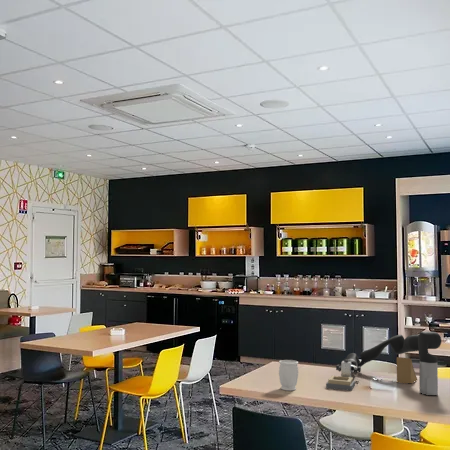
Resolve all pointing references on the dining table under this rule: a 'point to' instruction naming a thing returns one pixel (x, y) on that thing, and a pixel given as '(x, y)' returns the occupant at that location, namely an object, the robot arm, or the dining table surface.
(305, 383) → the dining table surface
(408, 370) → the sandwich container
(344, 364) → the grey bottle
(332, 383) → the charcoal dock
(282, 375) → the jar
